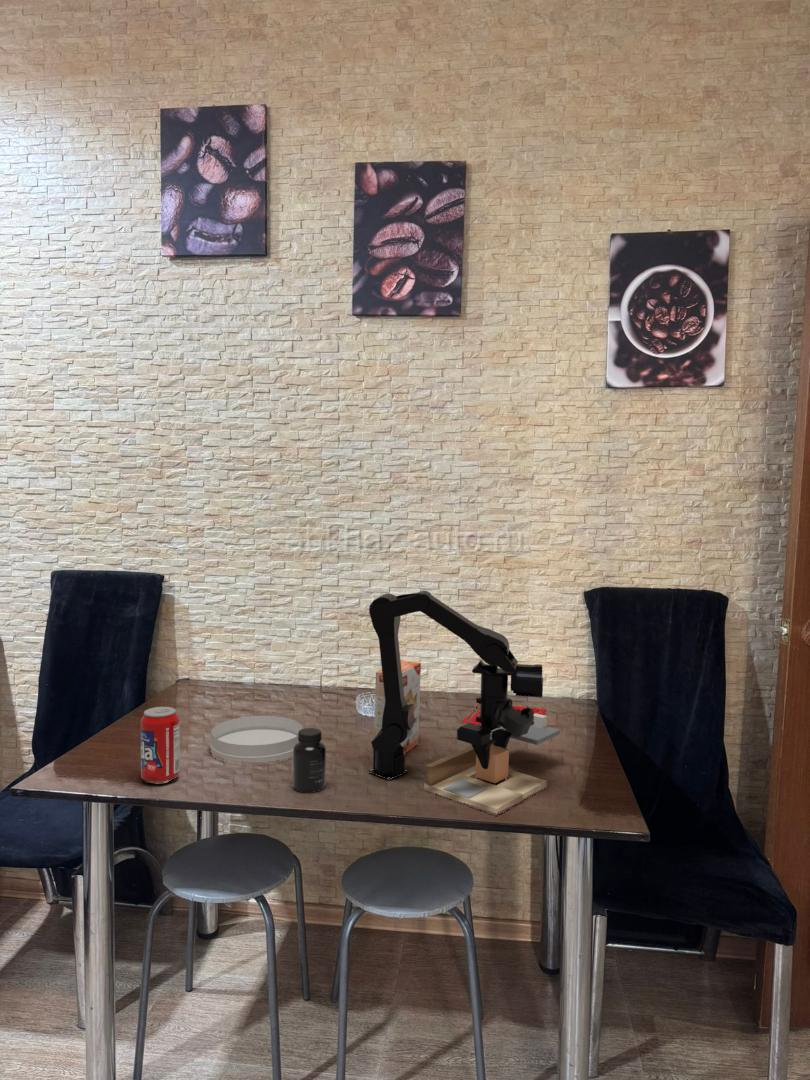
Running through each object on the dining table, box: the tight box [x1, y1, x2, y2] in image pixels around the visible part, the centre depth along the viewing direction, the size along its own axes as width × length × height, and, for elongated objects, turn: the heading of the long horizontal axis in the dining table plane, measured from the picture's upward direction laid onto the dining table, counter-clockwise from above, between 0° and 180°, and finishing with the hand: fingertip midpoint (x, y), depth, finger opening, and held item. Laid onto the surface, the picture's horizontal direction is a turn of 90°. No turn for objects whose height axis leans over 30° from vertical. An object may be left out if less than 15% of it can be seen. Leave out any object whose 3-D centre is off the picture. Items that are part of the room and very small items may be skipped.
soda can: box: [140, 706, 181, 781], centre depth 161 cm, size 8×8×15 cm
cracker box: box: [373, 659, 422, 755], centre depth 179 cm, size 14×6×21 cm, turn 155°
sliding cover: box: [491, 713, 561, 746], centre depth 174 cm, size 13×10×5 cm
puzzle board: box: [423, 745, 548, 814], centre depth 159 cm, size 18×19×6 cm
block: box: [476, 745, 510, 784], centre depth 162 cm, size 5×5×6 cm
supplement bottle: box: [292, 727, 327, 793], centre depth 158 cm, size 7×7×12 cm
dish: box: [209, 715, 304, 762], centre depth 181 cm, size 22×22×5 cm
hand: (492, 765), depth 162 cm, fingers closed on block, 5 cm apart
